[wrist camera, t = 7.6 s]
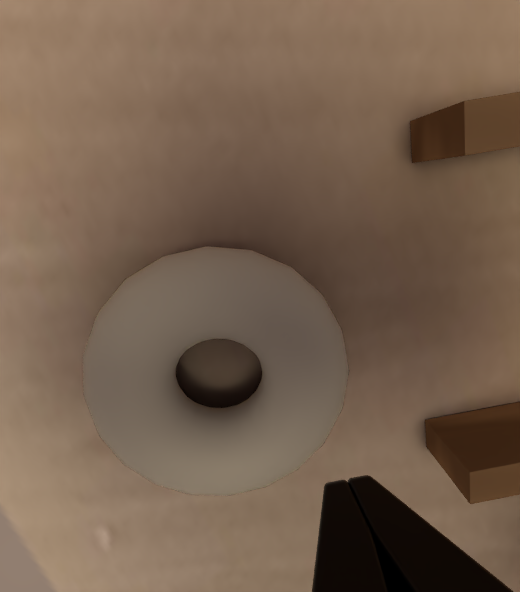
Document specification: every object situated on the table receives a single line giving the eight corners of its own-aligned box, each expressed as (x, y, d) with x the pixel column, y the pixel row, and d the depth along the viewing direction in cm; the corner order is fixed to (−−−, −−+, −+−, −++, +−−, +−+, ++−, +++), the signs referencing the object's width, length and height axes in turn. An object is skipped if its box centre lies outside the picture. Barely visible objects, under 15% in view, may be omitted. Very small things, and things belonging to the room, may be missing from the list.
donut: (4, 326, 12) (306, 203, 12) (51, 297, 15) (288, 201, 15) (148, 556, 15) (394, 458, 15) (161, 489, 18) (362, 409, 18)
